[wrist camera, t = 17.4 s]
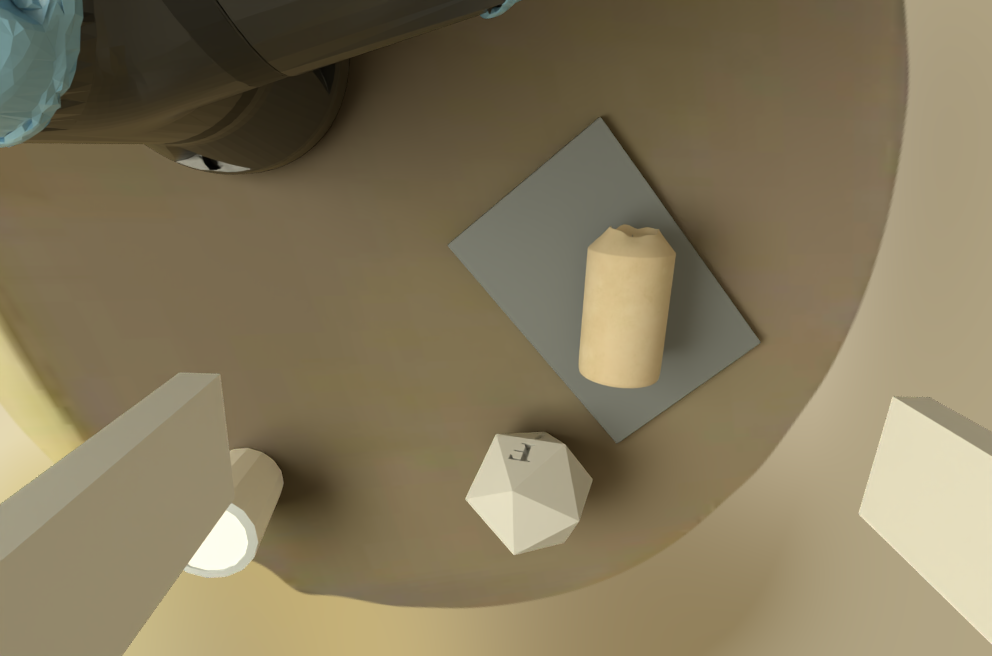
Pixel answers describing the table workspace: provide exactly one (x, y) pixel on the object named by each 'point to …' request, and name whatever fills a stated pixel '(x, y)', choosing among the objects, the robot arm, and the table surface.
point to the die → (530, 490)
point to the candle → (626, 307)
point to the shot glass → (240, 516)
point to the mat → (562, 269)
